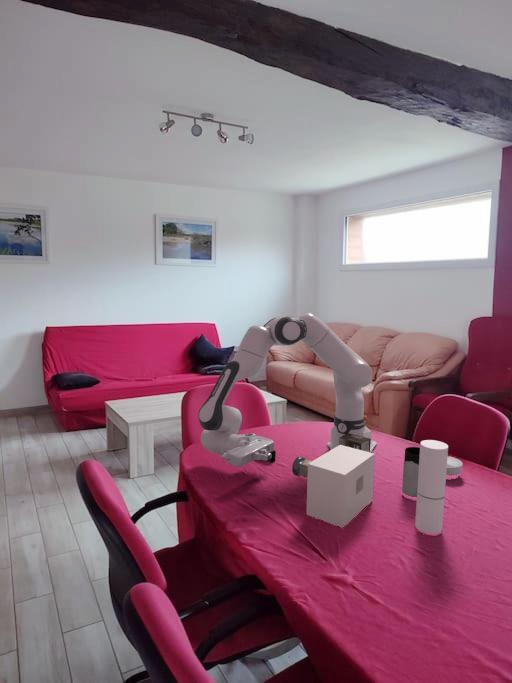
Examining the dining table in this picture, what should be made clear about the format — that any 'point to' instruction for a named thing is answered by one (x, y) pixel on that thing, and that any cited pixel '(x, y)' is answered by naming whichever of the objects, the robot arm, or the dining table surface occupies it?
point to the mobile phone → (272, 456)
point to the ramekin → (453, 466)
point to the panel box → (340, 484)
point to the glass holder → (411, 471)
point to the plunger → (300, 467)
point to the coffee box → (355, 442)
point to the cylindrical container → (431, 486)
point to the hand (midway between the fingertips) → (269, 457)
